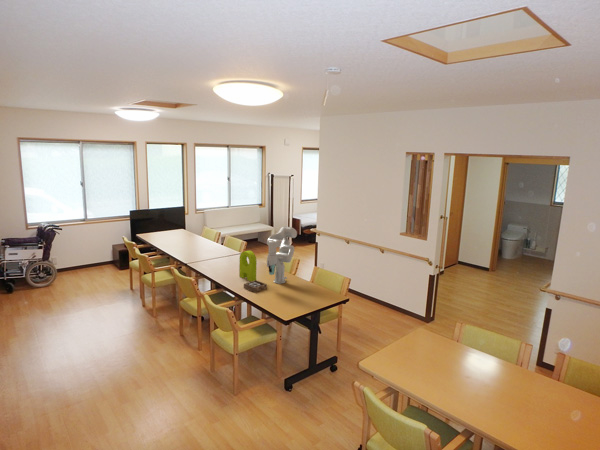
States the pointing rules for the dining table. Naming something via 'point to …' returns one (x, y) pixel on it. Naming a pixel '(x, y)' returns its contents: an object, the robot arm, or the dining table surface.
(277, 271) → the robot arm
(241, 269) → the decorative object
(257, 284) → the walled box
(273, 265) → the connector
